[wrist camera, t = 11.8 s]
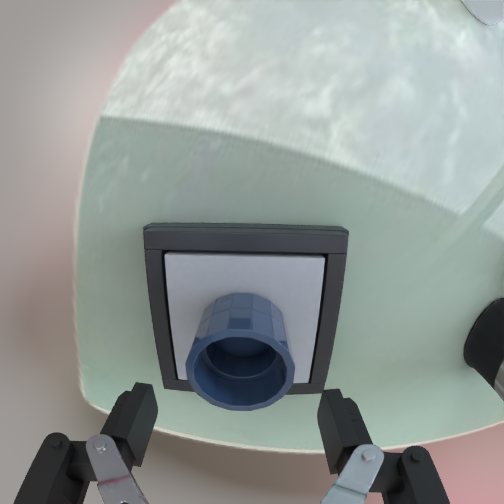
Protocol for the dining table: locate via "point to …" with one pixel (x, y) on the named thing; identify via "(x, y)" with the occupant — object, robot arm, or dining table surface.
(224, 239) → the scale
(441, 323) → the dining table surface
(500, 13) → the foam cup
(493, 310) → the milk frother
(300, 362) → the pan
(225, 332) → the blue cup
